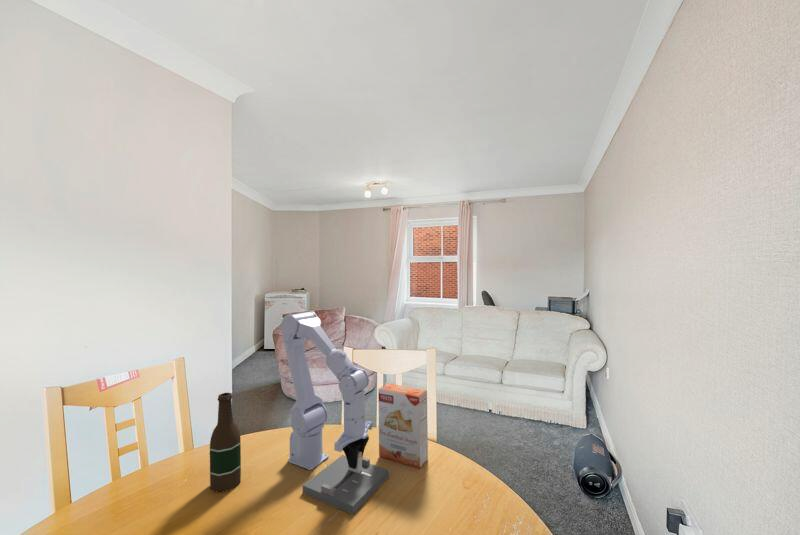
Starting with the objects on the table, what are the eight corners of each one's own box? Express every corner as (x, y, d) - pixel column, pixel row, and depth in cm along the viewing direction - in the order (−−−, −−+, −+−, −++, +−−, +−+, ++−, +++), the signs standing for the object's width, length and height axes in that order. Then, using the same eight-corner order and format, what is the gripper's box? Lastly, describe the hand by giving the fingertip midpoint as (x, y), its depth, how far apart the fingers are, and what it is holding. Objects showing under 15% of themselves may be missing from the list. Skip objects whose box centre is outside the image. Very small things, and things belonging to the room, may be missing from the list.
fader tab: (347, 469, 93) (347, 451, 93) (351, 466, 95) (351, 448, 95) (358, 473, 92) (358, 454, 92) (362, 470, 93) (362, 451, 93)
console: (302, 493, 87) (302, 479, 87) (342, 461, 101) (342, 449, 101) (353, 514, 79) (352, 499, 79) (388, 477, 93) (388, 464, 93)
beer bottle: (246, 483, 92) (245, 393, 92) (215, 497, 86) (214, 402, 86) (235, 471, 97) (234, 387, 97) (205, 484, 91) (204, 394, 91)
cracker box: (378, 457, 103) (377, 388, 103) (388, 448, 108) (387, 382, 109) (419, 470, 96) (418, 396, 96) (428, 459, 102) (427, 389, 102)
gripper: (349, 430, 85) (350, 484, 85) (381, 408, 98) (381, 456, 98) (327, 423, 88) (328, 476, 88) (360, 404, 101) (361, 449, 101)
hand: (354, 465), depth 93 cm, fingers closed on fader tab, 2 cm apart
